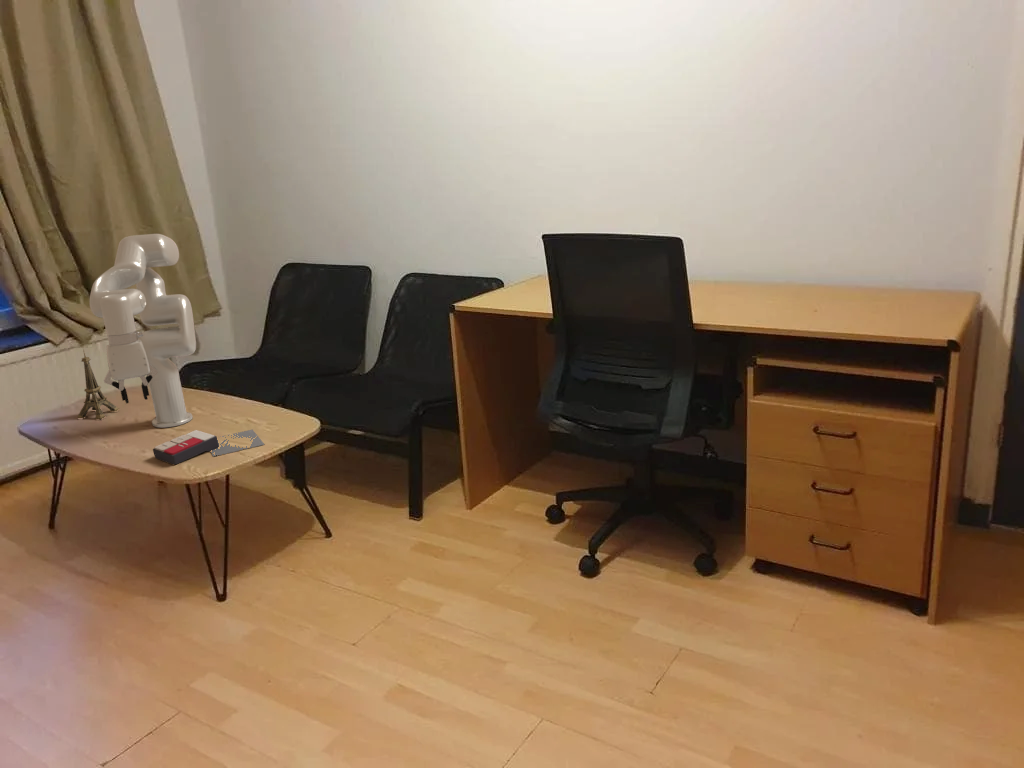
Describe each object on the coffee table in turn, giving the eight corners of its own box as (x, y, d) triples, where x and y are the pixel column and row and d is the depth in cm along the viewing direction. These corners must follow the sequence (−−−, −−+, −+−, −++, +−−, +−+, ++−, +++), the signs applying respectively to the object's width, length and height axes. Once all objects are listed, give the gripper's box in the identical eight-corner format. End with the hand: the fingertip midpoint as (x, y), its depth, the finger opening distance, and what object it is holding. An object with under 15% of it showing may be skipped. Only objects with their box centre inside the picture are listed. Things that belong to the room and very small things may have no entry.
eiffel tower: (96, 409, 287) (80, 342, 280) (121, 409, 285) (106, 342, 278) (75, 420, 278) (58, 350, 270) (101, 420, 275) (85, 350, 268)
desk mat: (203, 440, 250) (203, 440, 250) (252, 429, 257) (252, 429, 257) (213, 456, 236) (213, 456, 236) (264, 444, 243) (264, 444, 243)
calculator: (151, 446, 237) (196, 427, 248) (155, 459, 239) (199, 440, 250) (171, 453, 231) (216, 433, 242) (175, 467, 232) (219, 446, 243)
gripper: (153, 331, 231) (165, 391, 237) (89, 341, 224) (103, 403, 229) (156, 335, 225) (169, 397, 231) (90, 346, 217) (105, 410, 223)
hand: (136, 399), depth 230 cm, fingers open, 4 cm apart
